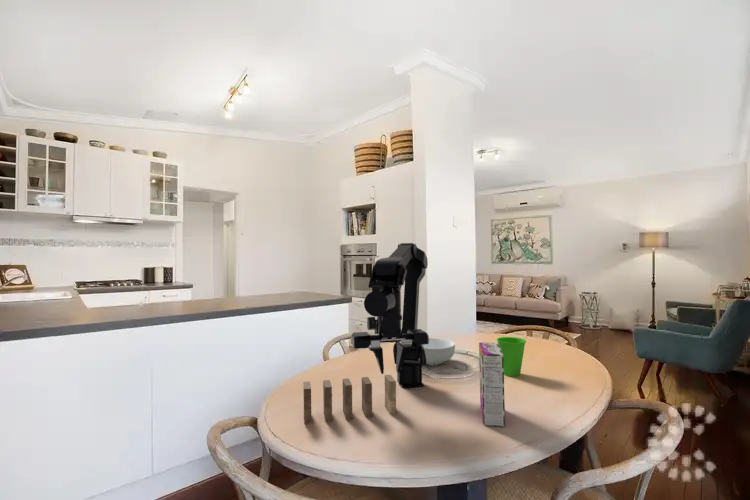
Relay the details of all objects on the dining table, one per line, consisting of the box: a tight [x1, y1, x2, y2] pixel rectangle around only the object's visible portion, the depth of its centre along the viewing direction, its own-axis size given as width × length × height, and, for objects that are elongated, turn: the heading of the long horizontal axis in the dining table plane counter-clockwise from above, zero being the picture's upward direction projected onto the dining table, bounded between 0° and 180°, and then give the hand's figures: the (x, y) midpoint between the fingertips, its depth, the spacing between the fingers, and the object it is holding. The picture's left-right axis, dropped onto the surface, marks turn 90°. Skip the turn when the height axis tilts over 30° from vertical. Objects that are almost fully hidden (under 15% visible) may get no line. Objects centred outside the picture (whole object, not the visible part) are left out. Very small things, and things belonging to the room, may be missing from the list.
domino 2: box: [322, 379, 333, 422], centre depth 92 cm, size 2×5×8 cm, turn 12°
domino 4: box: [361, 376, 373, 418], centre depth 94 cm, size 2×5×8 cm, turn 12°
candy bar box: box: [478, 341, 506, 428], centre depth 91 cm, size 11×5×16 cm, turn 168°
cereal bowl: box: [423, 337, 456, 365], centre depth 137 cm, size 17×17×7 cm
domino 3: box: [342, 378, 353, 420], centre depth 93 cm, size 2×5×8 cm, turn 12°
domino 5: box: [384, 374, 397, 415], centre depth 96 cm, size 2×5×8 cm, turn 12°
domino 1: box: [303, 381, 312, 425], centre depth 91 cm, size 2×5×8 cm, turn 12°
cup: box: [495, 336, 527, 378], centre depth 122 cm, size 9×9×11 cm
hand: (389, 373), depth 95 cm, fingers open, 4 cm apart
